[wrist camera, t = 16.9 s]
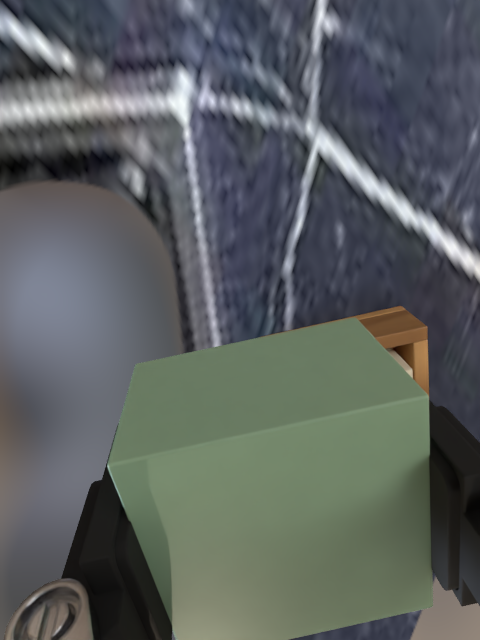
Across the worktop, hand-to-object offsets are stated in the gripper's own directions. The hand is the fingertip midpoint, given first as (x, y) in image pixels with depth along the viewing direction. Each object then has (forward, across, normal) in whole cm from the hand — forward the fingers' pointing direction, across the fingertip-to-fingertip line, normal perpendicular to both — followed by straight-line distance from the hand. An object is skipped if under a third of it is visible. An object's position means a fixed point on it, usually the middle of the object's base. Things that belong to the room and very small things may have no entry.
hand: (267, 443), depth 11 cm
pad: (0, 0, 0) cm, 0 cm away
